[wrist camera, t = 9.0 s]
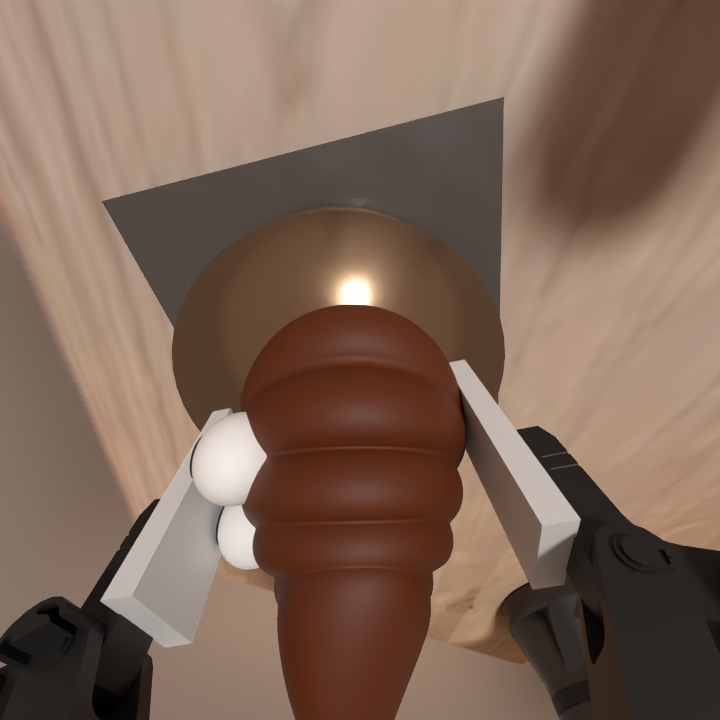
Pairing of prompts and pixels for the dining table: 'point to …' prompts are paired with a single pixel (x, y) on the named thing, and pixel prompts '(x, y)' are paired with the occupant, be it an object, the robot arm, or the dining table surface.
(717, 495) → the dining table surface
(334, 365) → the poop emoji
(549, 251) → the dining table surface
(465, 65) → the dining table surface
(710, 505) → the dining table surface
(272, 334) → the post stand
